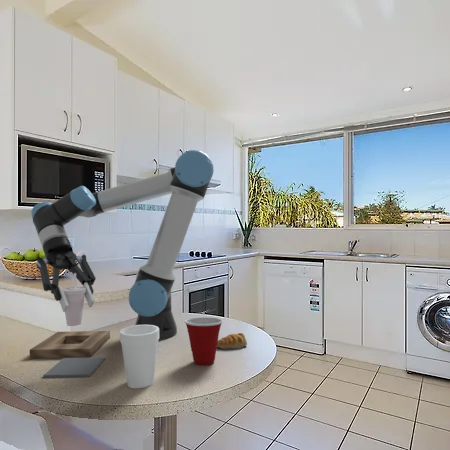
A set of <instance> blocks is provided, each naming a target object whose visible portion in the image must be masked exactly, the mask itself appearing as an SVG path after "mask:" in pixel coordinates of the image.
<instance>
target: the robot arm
mask: <svg viewBox="0 0 450 450" xmlns="http://www.w3.org/2000/svg"><path fill="white" fill-rule="evenodd" d="M214 170H215V169H214V163H213V161H212V160H211V157H209V156H208V154H207V153H205V152H203V151H200V150H198V149H191V150H187V151H185V152H183V153H182V154H180V156H179V157H178V158H177V160H176V161H175V165H174V167H171V168H168V171H166V172H165V173H161V174H157V175H153V176H150V177H145V178H142V179H140V180H139V179H138V180H136V181H135V180H134V181H132V182H128V183H124V184H121V185H117V186H113V187H111V188H107V189H104V190H99V191H95V192H91V191H90V190H89V188H87V187H86V186H84V185H80V186H78V187H76V188H74V189H72V190H71V191H70V192H69V193H67V194H66V195H63V196H62V197H61V198H59V199H57V200H56V201H54V202H49V201H43V202H39V203H37V204H35V205H34V206H33V207H32V208H31V218H32V224H33V225H34V227H35V229H36V232H37V236H38V239H39V241H40V244H41V247H42V250H43V253H44V257H45V258H42V257H38V258H37V261H36V264H35V265H36V267H37V268H38V270H39V273H40V279H41V282H42V283H41V284H42V287H43V288H42V289H43V291H44V292H48V291H50V293H51V295H53V296H54V300H55V301H57V302H58V301H59V304H60V307H61V310H62V312H63V313H65V312H66V311H67V309H68V306H69V304H68V302H67V299H66V296H65V293H64V290H63V289H64V287H63V286H62V285H59V283H60V271H62V270H68V272H70V273H72V275H74V273H76V280H78V281H79V283H80V284H81V285H82V287H84V288H86V292H85V295H84V299H85V300H86V303H87V305H88V308H92V307H93V305H94V303H95V298H94V288H93V285H94V283H95V281H96V279H97V277H96V275H95V274H94V272H93V270H92V268H91V267H90V265H89V262H88V261H87V255H86V254H82V255H81V256H80V255H77V254H76V253H75V252H74V250H73V246H72V244H71V242H70V240H69V236H68V234H67V232H66V229H65V225H67V224H68V223H70V222H71V221H73V220H75V219H76V218H78V217H84V218H94V217H96V216H98V215H100V214H103V213H106V212H110V211H113V210H117V209H121V208H123V207H124V208H125V207H129V206H131V205H136V204H139V203H143V202H145V201H149V200H153V199H157V198H161V197H163V196H167V195H170V198H169V200H168V203H167V206H166V209H165V212H164V215H163V217H162V221H161V223H160V226H159V228H158V231H157V234H156V237H155V239H154V243H153V245H152V248H151V251H150V253H149V256H148V260H147V262H146V263H145V264H142V266H140V267H139V269H138V271H137V275H136V279H135V280H134V284H132V285H131V287H130V289H129V292H128V302H129V303H128V304H129V305H130V308H131V310H133V312H134V313H136V314H137V316H136V319H135V320H136V321H135V324H134V325H154V326H157V327H158V328H159V339H158V341H159V340H165V339H169V338H172V337H174V336H175V335H176V334H177V333H178V330H177V329H178V328H177V327H178V325H177V323H176V321H175V318H174V317H175V316H174V314H173V312H172V288H173V285H174V283H175V280H176V277H175V276H174V273H173V271H174V270H175V265H176V262H177V260H178V258H179V255H180V252H181V249H182V246H183V243H184V241H185V238H186V235H187V232H188V230H189V227H190V224H191V221H192V218H193V217H194V216H193V215H194V212H195V210H196V207H197V205H198V202H200V201H202V200H204V199H205V197H206V193H207V190H208V188H209V185H210V183H211V181H212V178H213V175H214ZM47 264H48V265H49V266H51V267H52V281H51V279H50V275H49V270H48V266H47ZM79 266H80V267H79ZM51 282H52V283H51Z"/></svg>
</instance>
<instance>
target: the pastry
mask: <svg viewBox="0 0 450 450" xmlns="http://www.w3.org/2000/svg"><path fill="white" fill-rule="evenodd" d="M247 345H248V341H247V339H246V337H245V334H244V333H243V332H238V333H231V334H228V335H226V336H224V337H222V338H221V339H218V343H217V348H219V349H222V350H230V349H229V348H235V349H239V348H238V347H243V346H246V347H247ZM226 348H228V349H226ZM243 348H244V347H243Z"/></svg>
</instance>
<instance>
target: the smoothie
mask: <svg viewBox="0 0 450 450" xmlns="http://www.w3.org/2000/svg"><path fill="white" fill-rule="evenodd" d="M63 290H64V293H65V296H66V299H67V302H68V304H69V306H68V309H67V311H66V312H64V314H65V320H66V321H65V322H66V326H67V327H75V326H79V325H82V321H83V313H84V302H85V292H86V288H84V287H83V286H77V278H76V273H74V274H73V286H72V287H66V288H63Z"/></svg>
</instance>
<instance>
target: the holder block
mask: <svg viewBox="0 0 450 450" xmlns="http://www.w3.org/2000/svg"><path fill="white" fill-rule="evenodd" d="M110 338H111V332H110V330H87V331H86V330H82V331H79V330H78V331H74V330H73V331H57V332H55V333H54V334H52V335H50V336H49V337H48V338H46V339H44V340H43V341H41V342H39V343H38V344H36V345H35V346H34V347H31V348H30V349H29V359H53V358H55V359H57V358H59V359H60V358H62V359H63V358H92V356H94V354H96V352H97V351H99V350H100V349H101V348H102V346H103V345H105V344H106V343H107V342H108V341H109V340H110Z"/></svg>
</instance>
